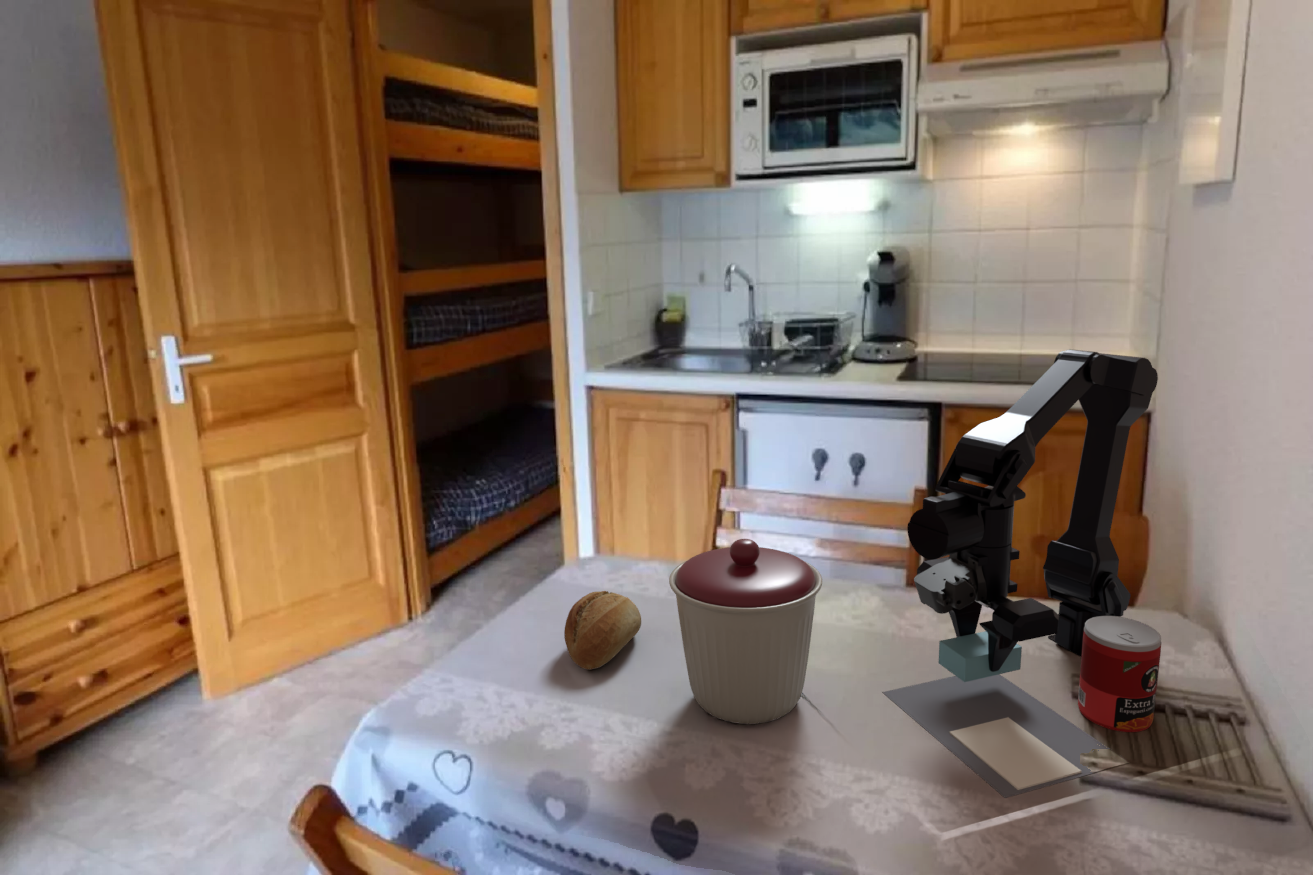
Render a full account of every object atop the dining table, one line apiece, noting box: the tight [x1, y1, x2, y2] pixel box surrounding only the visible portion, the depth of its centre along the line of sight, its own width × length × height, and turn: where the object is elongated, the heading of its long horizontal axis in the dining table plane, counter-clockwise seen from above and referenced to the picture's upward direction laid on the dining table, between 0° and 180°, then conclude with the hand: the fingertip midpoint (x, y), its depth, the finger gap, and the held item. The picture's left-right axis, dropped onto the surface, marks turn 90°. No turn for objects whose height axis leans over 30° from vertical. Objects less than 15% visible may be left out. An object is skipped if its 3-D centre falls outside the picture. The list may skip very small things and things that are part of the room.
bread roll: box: [563, 590, 642, 670], centre depth 120 cm, size 10×15×8 cm, turn 162°
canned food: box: [1077, 616, 1162, 733], centre depth 99 cm, size 8×8×11 cm
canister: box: [668, 538, 823, 725], centre depth 104 cm, size 18×18×21 cm
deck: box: [937, 630, 1023, 682], centre depth 105 cm, size 8×5×3 cm, turn 108°
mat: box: [882, 674, 1123, 799], centre depth 99 cm, size 16×22×1 cm
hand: (979, 660), depth 105 cm, fingers closed on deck, 5 cm apart
